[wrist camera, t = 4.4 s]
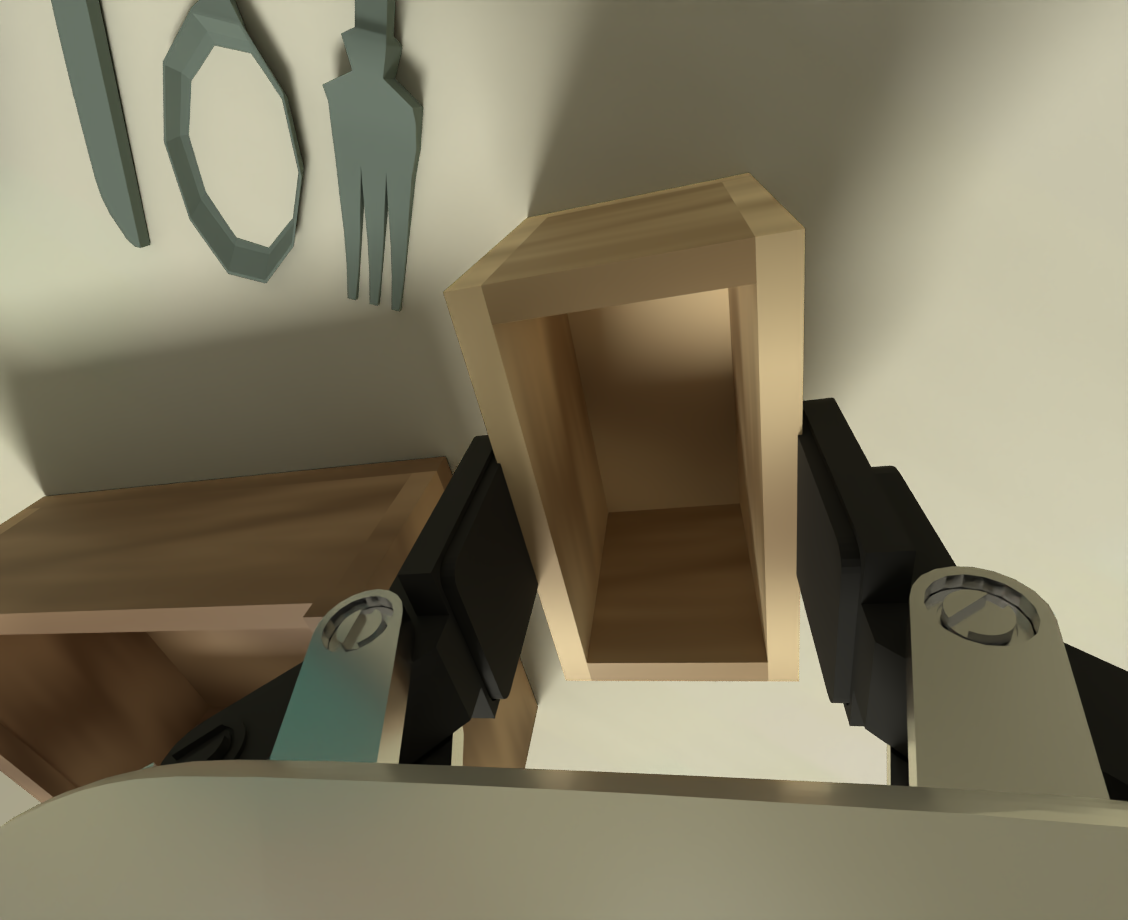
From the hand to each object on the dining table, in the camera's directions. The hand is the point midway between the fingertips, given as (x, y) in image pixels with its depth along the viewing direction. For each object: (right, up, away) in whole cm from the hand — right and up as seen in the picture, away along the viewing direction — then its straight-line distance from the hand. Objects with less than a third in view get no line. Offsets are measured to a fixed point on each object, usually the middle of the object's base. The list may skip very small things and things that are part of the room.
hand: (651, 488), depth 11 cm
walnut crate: (-12, -5, +12) cm, 18 cm away
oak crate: (+1, +3, +4) cm, 5 cm away
